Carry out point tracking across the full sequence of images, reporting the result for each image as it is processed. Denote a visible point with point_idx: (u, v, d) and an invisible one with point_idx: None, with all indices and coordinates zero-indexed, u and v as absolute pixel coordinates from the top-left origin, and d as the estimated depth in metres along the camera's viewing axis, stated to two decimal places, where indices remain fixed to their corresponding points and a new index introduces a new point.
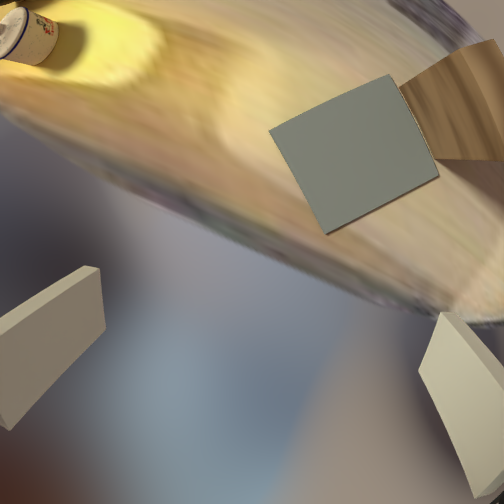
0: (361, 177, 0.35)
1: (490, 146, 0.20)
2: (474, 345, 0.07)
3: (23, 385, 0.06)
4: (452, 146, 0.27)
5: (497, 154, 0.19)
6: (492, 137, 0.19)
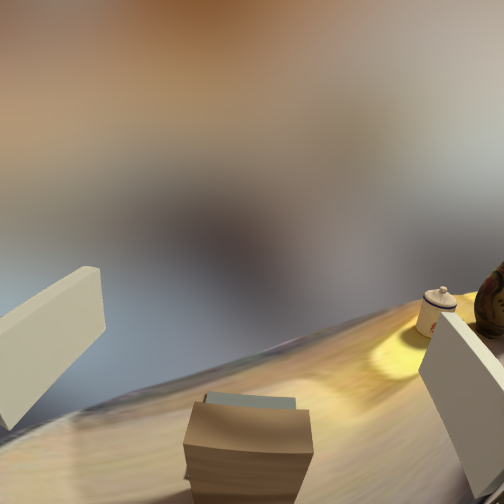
0: None
1: None
2: (474, 345, 0.07)
3: (23, 385, 0.06)
4: None
5: None
6: None
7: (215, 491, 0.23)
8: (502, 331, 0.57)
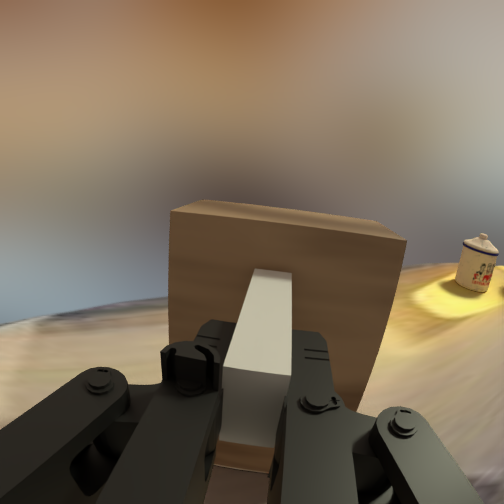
0: None
1: None
2: (276, 295, 0.10)
3: None
4: None
5: None
6: None
7: None
8: None
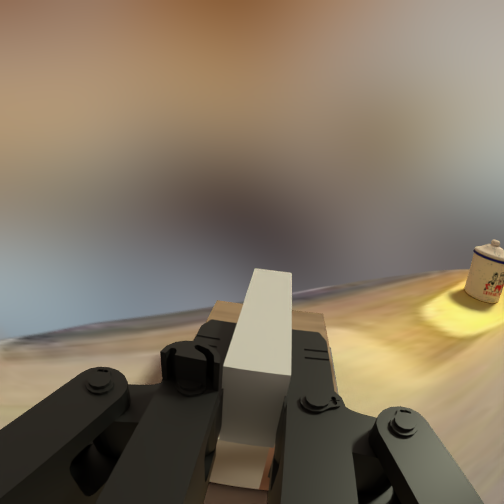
0: None
1: None
2: (276, 295, 0.10)
3: None
4: None
5: None
6: None
7: None
8: None
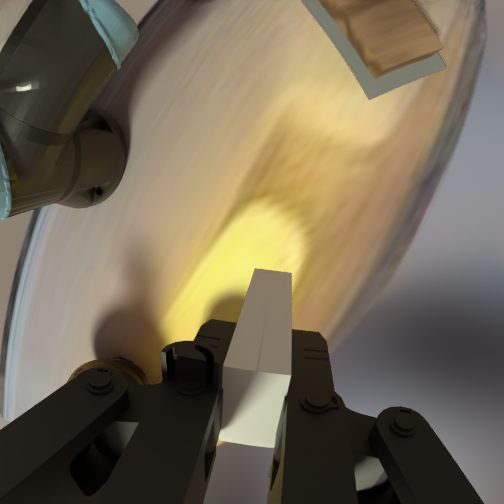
0: None
1: None
2: (276, 295, 0.10)
3: None
4: None
5: None
6: None
7: None
8: None
